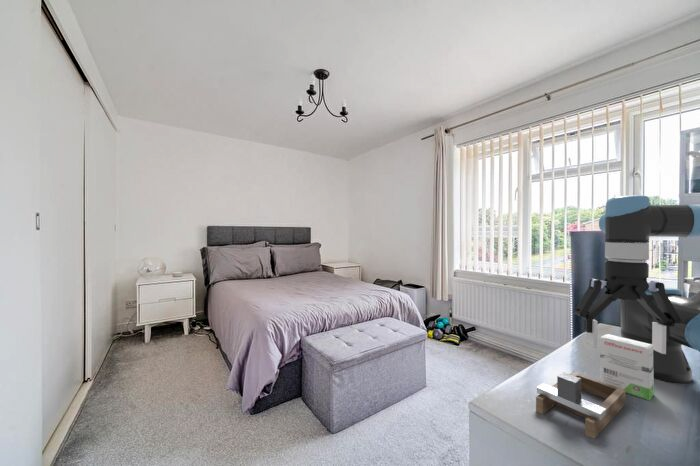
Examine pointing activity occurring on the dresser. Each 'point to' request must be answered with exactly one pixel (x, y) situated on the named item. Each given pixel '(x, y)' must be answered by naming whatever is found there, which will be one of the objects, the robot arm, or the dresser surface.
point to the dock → (612, 404)
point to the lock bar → (571, 395)
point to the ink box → (627, 365)
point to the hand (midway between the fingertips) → (624, 348)
